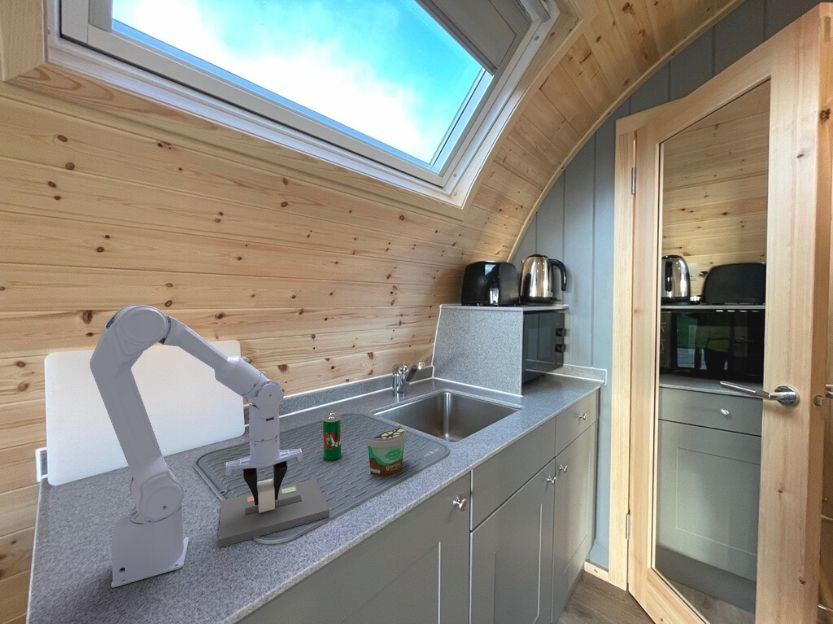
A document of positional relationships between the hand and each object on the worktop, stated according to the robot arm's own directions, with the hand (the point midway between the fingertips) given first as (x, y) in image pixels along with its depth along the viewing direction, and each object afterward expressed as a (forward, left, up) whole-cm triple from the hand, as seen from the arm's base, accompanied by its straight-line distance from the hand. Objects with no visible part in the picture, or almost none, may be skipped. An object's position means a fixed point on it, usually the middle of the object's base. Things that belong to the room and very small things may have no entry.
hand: (266, 500), depth 74 cm
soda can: (+18, +20, -3) cm, 27 cm away
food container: (+30, +5, -3) cm, 31 cm away
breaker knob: (0, 0, -1) cm, 1 cm away
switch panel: (+1, 0, -3) cm, 3 cm away
